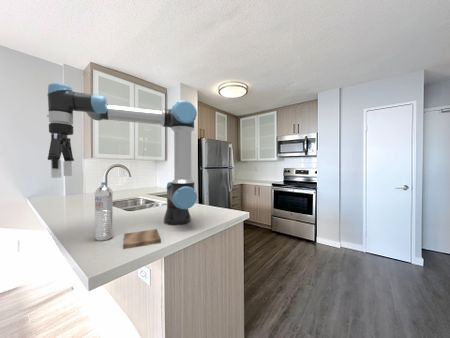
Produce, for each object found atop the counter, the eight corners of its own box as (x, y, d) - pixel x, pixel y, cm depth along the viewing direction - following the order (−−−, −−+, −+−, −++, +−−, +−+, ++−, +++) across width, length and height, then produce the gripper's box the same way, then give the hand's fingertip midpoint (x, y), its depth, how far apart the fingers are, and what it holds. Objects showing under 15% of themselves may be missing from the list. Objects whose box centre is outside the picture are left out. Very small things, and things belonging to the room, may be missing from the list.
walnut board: (156, 232, 93) (156, 229, 93) (160, 242, 81) (160, 239, 81) (124, 236, 87) (124, 233, 87) (123, 248, 75) (123, 245, 75)
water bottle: (115, 238, 86) (114, 182, 85) (97, 242, 81) (97, 183, 80) (110, 234, 90) (109, 181, 90) (93, 238, 85) (92, 182, 85)
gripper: (60, 128, 87) (61, 175, 87) (34, 115, 64) (36, 178, 65) (80, 130, 90) (81, 175, 90) (62, 118, 68) (64, 178, 68)
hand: (62, 176), depth 78 cm, fingers open, 13 cm apart
